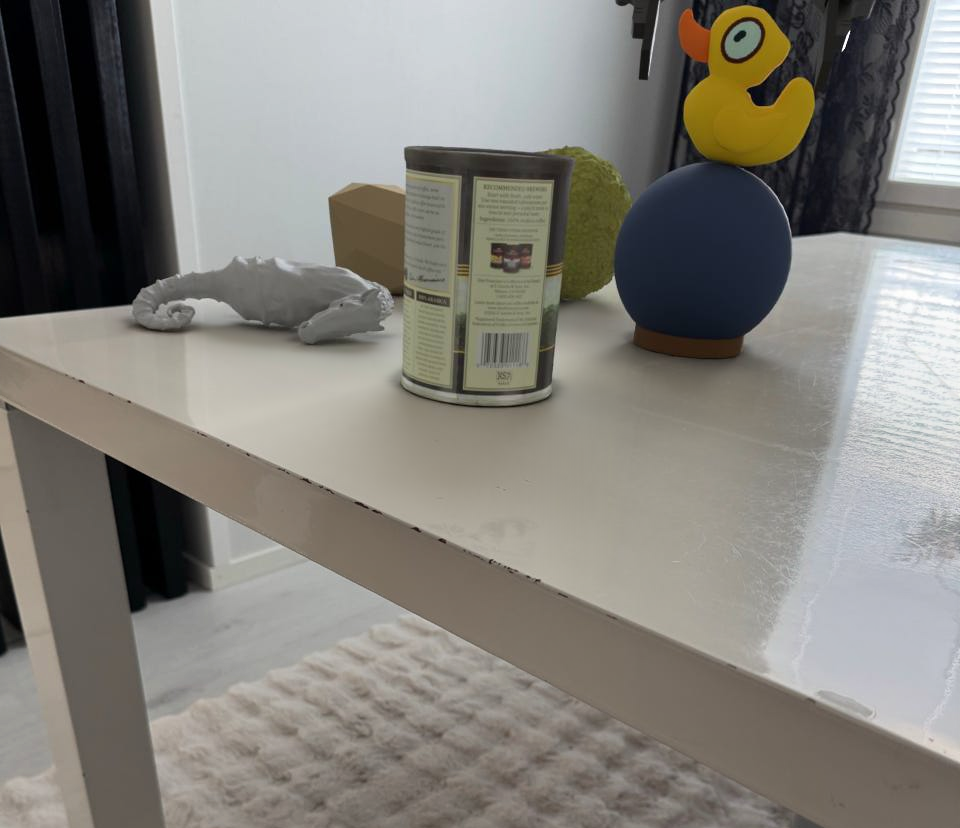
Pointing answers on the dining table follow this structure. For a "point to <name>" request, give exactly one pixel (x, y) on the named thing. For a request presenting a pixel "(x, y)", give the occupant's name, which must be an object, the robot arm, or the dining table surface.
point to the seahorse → (274, 297)
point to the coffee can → (482, 272)
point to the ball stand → (702, 260)
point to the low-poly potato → (370, 232)
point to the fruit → (591, 222)
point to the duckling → (742, 89)
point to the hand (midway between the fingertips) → (732, 71)
